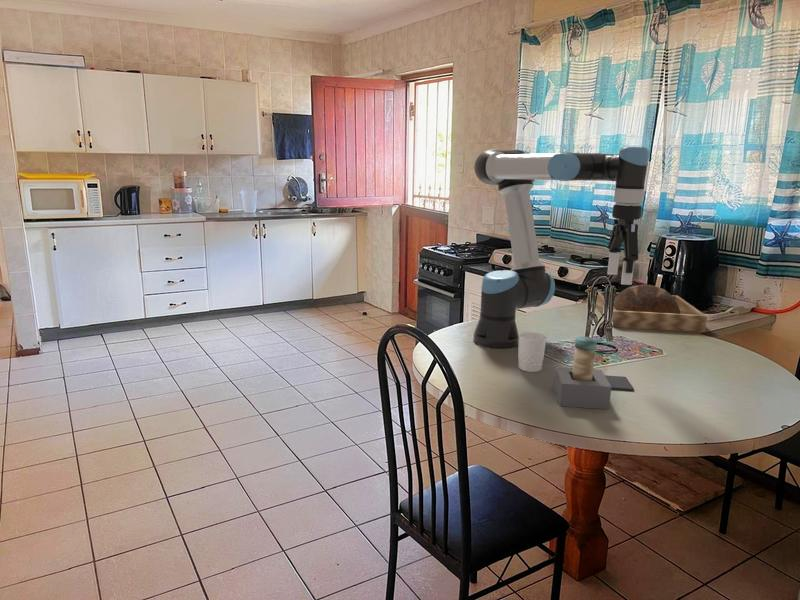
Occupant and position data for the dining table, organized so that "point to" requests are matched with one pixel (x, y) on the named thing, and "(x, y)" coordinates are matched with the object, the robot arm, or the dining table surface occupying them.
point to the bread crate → (658, 317)
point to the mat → (619, 383)
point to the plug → (584, 358)
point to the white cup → (531, 351)
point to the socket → (581, 389)
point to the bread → (646, 300)
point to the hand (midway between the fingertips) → (618, 279)
